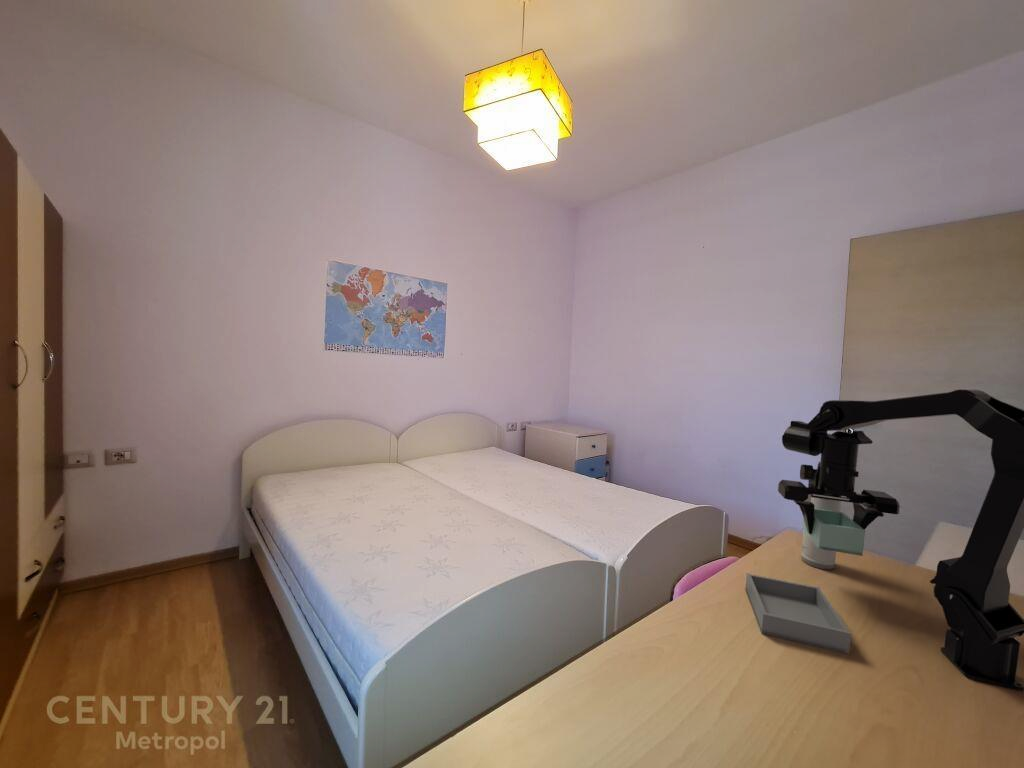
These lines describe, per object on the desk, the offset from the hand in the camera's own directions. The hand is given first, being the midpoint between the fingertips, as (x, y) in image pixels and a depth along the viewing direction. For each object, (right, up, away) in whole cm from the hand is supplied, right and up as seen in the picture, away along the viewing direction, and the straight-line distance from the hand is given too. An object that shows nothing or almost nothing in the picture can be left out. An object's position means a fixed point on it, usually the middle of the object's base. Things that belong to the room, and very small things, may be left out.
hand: (830, 536), depth 84 cm
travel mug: (+6, -11, +11) cm, 17 cm away
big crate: (-15, -11, -10) cm, 21 cm away
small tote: (0, -1, 0) cm, 1 cm away
